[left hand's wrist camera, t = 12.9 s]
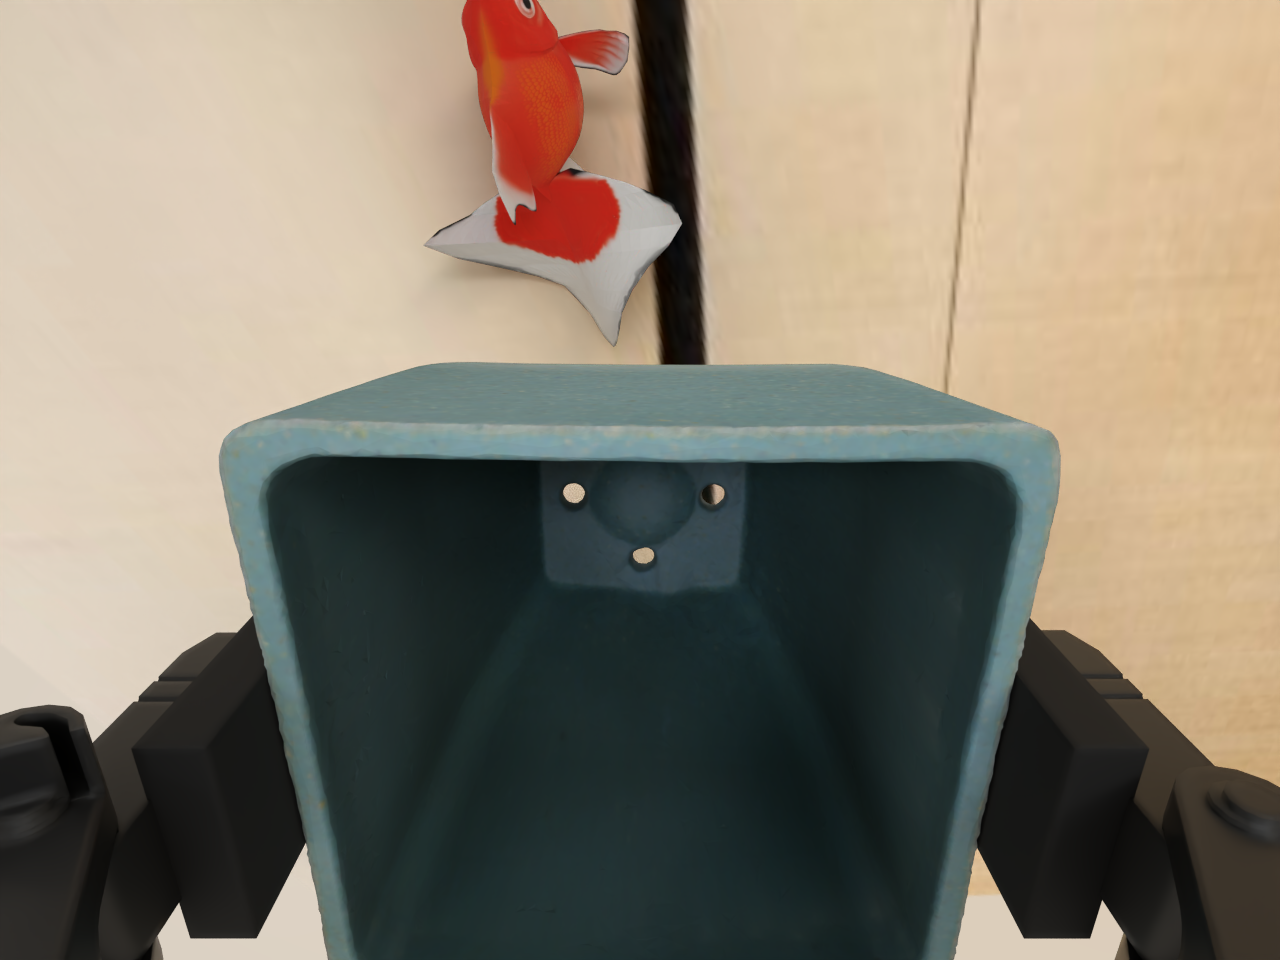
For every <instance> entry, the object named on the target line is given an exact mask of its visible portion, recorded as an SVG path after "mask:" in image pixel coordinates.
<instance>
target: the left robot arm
mask: <svg viewBox="0 0 1280 960" xmlns="http://www.w3.org/2000/svg"><path fill="white" fill-rule="evenodd" d="M305 843H306V839H305V836H304V833H303V828H302V820H301V816H300V813H299V809H298V804H297V799H296V793H295V788H294V785H293V781H292V778H291V775H290V773H289V767H288V762H287V759H286V756H285V752H284V741H283V738H282V735H281V733H280V731H279V721H278V717H277V712H276V707H275V702H274V700H273V697H272V695H271V689H270V685H269V682H268V677H267V669H266V668H265V666H264V658H263V655H262V649H261V648H260V644H259V641H258V637H257V633H256V628H255V623H254V618H253V616H252V617H251V618H250V619H249V620H248V622H247V623H246V624H245V625H244V626H243V627H242V628H241V629H240V630H239V631H238V632H237V633H215V634H213V635H212V636H210V637H208V638H207V639H205V640H203V641H202V642H200V643H198V644H197V645H195V646H193V647H192V648H190V649H188V650H186V651H185V652H183V653H182V654H181V655H180V656H179V657H178V658H177V659H176V660H175V661H174V662H173V663H172V664H171V665H170V666H169V667H168V668H167V669H166V670H165V671H164V672H163V673H162V674H161V675H160V676H159V680H158V681H154V682H153V683H152V684H151V685H150V686H149V687H148V688H147V689H146V690H145V691H144V692H143V693H142V694H141V695H140V696H139V701H138V702H133V703H132V704H131V705H130V706H129V707H128V708H127V709H126V710H125V711H124V712H123V713H122V714H121V715H120V716H119V717H118V718H117V719H116V720H115V721H114V722H113V723H112V724H111V725H110V726H109V727H108V728H107V729H106V730H105V731H104V732H103V733H102V734H101V735H100V736H99V737H98V738H97V739H96V740H95V741H94V742H93V743H92V740H91V737H90V734H89V731H88V728H87V725H86V722H85V719H84V716H83V715H82V714H81V713H79V712H78V711H76V710H75V709H73V708H72V707H67V706H57V705H44V706H37V707H30V708H23V709H18V710H15V711H12V712H9V713H5V714H2V715H0V960H163V955H162V949H161V945H160V943H159V940H158V937H157V935H158V934H159V932H160V931H161V929H162V928H163V926H164V925H165V923H166V922H167V920H168V918H169V917H170V916H171V914H172V912H173V911H174V909H175V908H176V906H177V905H178V903H180V906H181V910H182V913H183V916H184V919H185V922H186V926H187V929H188V932H189V935H190V938H257V936H258V934H259V932H260V931H261V929H262V927H263V925H264V923H265V921H266V919H267V917H268V915H269V913H270V911H271V909H272V907H273V905H274V903H275V901H276V899H277V897H278V896H279V894H280V892H281V890H282V888H283V886H284V884H285V882H286V880H287V878H288V876H289V874H290V872H291V870H292V868H293V866H294V865H295V863H296V861H297V859H298V857H299V855H300V853H301V851H302V849H303V847H304V845H305ZM977 848H978V850H979V852H980V854H981V856H982V858H983V860H984V862H985V864H986V866H987V868H988V869H989V871H990V873H991V875H992V877H993V879H994V881H995V883H996V885H997V887H998V889H999V891H1000V893H1001V895H1002V897H1003V899H1004V901H1005V902H1006V904H1007V906H1008V908H1009V910H1010V912H1011V914H1012V916H1013V918H1014V920H1015V922H1016V924H1017V926H1018V928H1019V930H1020V932H1021V933H1022V935H1023V937H1024V938H1090V937H1091V934H1092V931H1093V927H1094V924H1095V921H1096V918H1097V915H1098V911H1099V908H1100V905H1101V902H1102V900H1103V902H1104V903H1105V905H1106V906H1107V908H1108V909H1109V911H1110V912H1111V914H1112V915H1113V917H1114V918H1115V920H1116V921H1117V923H1118V925H1119V926H1120V928H1121V929H1122V931H1123V932H1124V934H1123V937H1122V940H1121V942H1120V945H1119V948H1118V951H1117V954H1116V957H1115V960H1280V787H1278V786H1276V785H1274V784H1273V783H1271V782H1269V781H1267V780H1264V779H1261V778H1259V777H1256V776H1253V775H1250V774H1247V773H1244V772H1242V771H1239V770H1235V769H1229V768H1223V767H1216V766H1214V765H1213V764H1212V763H1211V762H1210V761H1209V760H1208V759H1207V758H1206V757H1205V756H1204V755H1203V754H1202V753H1201V752H1200V751H1199V750H1198V749H1197V748H1196V747H1195V746H1194V745H1193V744H1192V743H1191V742H1190V741H1189V740H1188V739H1187V738H1186V737H1185V736H1184V735H1183V734H1182V733H1181V732H1180V731H1179V730H1178V729H1177V728H1176V727H1175V726H1174V725H1173V724H1172V723H1171V722H1170V721H1169V720H1168V719H1167V718H1166V717H1165V716H1164V715H1163V714H1162V713H1161V712H1160V711H1159V710H1158V709H1157V708H1156V707H1155V706H1154V705H1153V704H1152V703H1151V702H1150V701H1149V700H1148V699H1143V697H1142V693H1141V692H1140V691H1139V690H1138V689H1137V688H1136V687H1135V686H1134V685H1133V684H1132V683H1131V682H1130V681H1129V680H1128V679H1123V674H1122V673H1121V672H1120V671H1119V670H1118V669H1117V668H1116V667H1115V666H1114V665H1113V664H1112V663H1111V662H1110V661H1109V660H1108V659H1107V658H1106V657H1105V656H1104V655H1103V654H1102V653H1101V652H1100V651H1099V650H1097V649H1095V648H1094V647H1092V646H1090V645H1089V644H1087V643H1085V642H1084V641H1082V640H1080V639H1078V638H1077V637H1075V636H1073V635H1072V634H1070V633H1068V632H1067V631H1065V630H1040V629H1039V628H1038V626H1037V625H1036V624H1035V623H1034V622H1033V621H1032V620H1031V619H1030V618H1029V621H1028V623H1027V626H1026V637H1025V640H1024V648H1023V650H1022V656H1021V658H1020V659H1019V660H1018V670H1017V672H1016V674H1015V678H1014V682H1013V686H1012V690H1011V693H1010V699H1009V707H1008V711H1007V715H1006V718H1005V720H1004V722H1003V728H1002V730H1001V735H1000V740H999V744H998V748H997V751H996V754H995V762H994V767H993V775H992V779H991V782H990V785H989V790H988V797H987V802H986V805H985V810H984V813H983V816H982V820H981V827H980V834H979V836H978V838H977Z"/></svg>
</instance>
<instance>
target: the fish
mask: <svg viewBox="0 0 1280 960" xmlns="http://www.w3.org/2000/svg"><path fill="white" fill-rule="evenodd" d="M462 26H463V29H464V31H465V34H466V38H467V44H468V50H469V55H470V58H471V61H472V64H473V66H474V67H475V68H476V70H477V78H478V96H479V102H480V107H481V111H482V115H483V118H484V121H485V124H486V127H487V129H488V132H489V134H490V137H491V139H492V173H493V176H494V179H495V182H496V185H497V188H498V191H499V193H498V194H497V195H496V196H494V197H493V198H491V199H490V200H488V201H487V202H485V203H484V204H483V205H481V206H480V207H479V208H478V209H477V210H475V211H474V212H473V213H472V214H471V215H469V216H467V217H465V218H463V219H461V220H459V221H457V222H455V223H453V224H451V225H449V226H447V227H445V228H443V229H441V230H439V231H438V232H437V233H436V234H435V235H434V236H433V237H432V238H430V239H429V240H428V241H427V242H426V243H425V244H424V245H423V246H426V247H428V248H431V249H434V250H436V251H439V252H442V253H445V254H447V255H450V256H453V257H455V258H458V259H462V260H467V261H472V262H477V263H481V264H486V265H491V266H495V267H500V268H505V269H509V270H513V271H518V272H522V273H526V274H530V275H535V276H538V277H541V278H544V279H547V280H550V281H552V282H555V283H558V284H561V285H564V286H565V287H566V288H567V289H568V290H569V291H570V292H571V293H572V294H573V295H574V296H575V297H576V298H577V299H578V301H579V302H580V303H581V304H582V305H583V306H584V307H585V308H586V309H587V310H588V312H589V313H590V314H591V316H592V317H593V319H594V321H595V322H596V324H597V326H598V327H599V329H600V331H601V332H602V334H603V335H604V337H605V338H606V339H607V340H608V341H609V343H610V344H611V345H612V346H613V347H614V346H615V345H616V343H617V339H618V334H619V329H620V323H621V316H622V312H623V310H624V307H625V305H626V303H627V301H628V299H629V296H630V294H631V292H632V290H633V289H634V287H635V286H636V284H637V283H638V281H639V280H640V278H641V277H642V275H643V274H644V272H645V271H646V269H647V268H648V267H649V265H650V264H651V263H652V262H653V261H654V260H655V259H656V258H657V257H658V256H659V255H660V254H661V253H662V252H663V251H664V250H665V249H666V248H667V247H668V246H669V244H670V242H671V241H672V239H673V237H674V236H675V234H676V233H677V231H678V229H679V228H680V226H681V224H682V222H681V220H680V218H679V216H678V213H677V211H676V209H675V207H674V204H672V203H670V202H668V201H666V200H664V199H662V198H660V197H658V196H656V195H654V194H652V193H650V192H648V191H646V190H644V189H641V188H638V187H636V186H633V185H631V184H628V183H626V182H623V181H619V180H616V179H612V178H609V177H605V176H601V175H597V174H593V173H589V172H585V171H584V170H583V169H582V168H581V167H580V166H579V165H578V164H577V163H576V162H574V161H573V160H572V159H571V158H570V157H569V156H570V154H571V153H572V151H573V149H574V147H575V145H576V143H577V141H578V138H579V136H580V132H581V128H582V122H583V112H584V106H583V96H582V89H581V85H580V81H579V77H578V74H577V71H576V69H575V67H580V68H588V69H596V70H600V71H603V72H605V73H608V74H611V75H617V74H618V73H620V71H621V70H622V68H623V67H624V65H625V64H626V62H627V59H628V52H629V37H628V36H627V35H626V34H624V33H621V32H618V31H605V30H589V31H583V32H578V33H573V34H569V35H565V36H561V37H558V34H557V30H556V29H555V27H554V26H553V24H552V23H551V22H550V20H549V19H548V17H547V16H546V14H545V12H544V11H543V9H542V8H541V6H540V4H539V3H538V1H537V0H467V2H466V4H465V6H464V9H463V12H462Z"/></svg>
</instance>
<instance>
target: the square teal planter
mask: <svg viewBox="0 0 1280 960" xmlns="http://www.w3.org/2000/svg"><path fill="white" fill-rule="evenodd" d="M1060 457H1061V456H1060V450H1059V445H1058V441H1057V439H1056V438H1055V436H1054V435H1053V434H1052V433H1051V432H1050V431H1048V430H1046V429H1043V428H1040V427H1038V426H1036V425H1033V424H1031V423H1027V422H1024V421H1021V420H1018V419H1016V418H1013V417H1010V416H1007V415H1004V414H1001V413H999V412H996V411H993V410H990V409H987V408H984V407H981V406H979V405H976V404H973V403H970V402H967V401H965V400H962V399H959V398H956V397H953V396H951V395H948V394H945V393H942V392H939V391H936V390H933V389H931V388H928V387H925V386H922V385H920V384H917V383H914V382H911V381H908V380H905V379H902V378H898V377H895V376H892V375H888V374H885V373H882V372H879V371H876V370H872V369H868V368H864V367H856V366H848V365H837V364H778V365H599V364H520V363H485V362H455V363H439V364H430V365H425V366H419V367H415V368H412V369H408V370H405V371H401V372H398V373H394V374H391V375H388V376H385V377H381V378H378V379H375V380H372V381H369V382H366V383H364V384H361V385H358V386H355V387H352V388H349V389H345V390H342V391H339V392H336V393H333V394H330V395H327V396H324V397H322V398H319V399H316V400H313V401H310V402H307V403H304V404H302V405H299V406H296V407H293V408H290V409H287V410H284V411H281V412H278V413H275V414H272V415H269V416H266V417H263V418H260V419H257V420H254V421H251V422H249V423H246V424H244V425H242V426H240V427H238V428H236V429H234V430H232V431H231V432H230V433H229V434H228V435H227V436H226V437H225V438H224V440H223V443H222V446H221V450H220V454H219V469H220V476H221V480H222V485H223V489H224V496H225V501H226V506H227V510H228V514H229V522H230V526H231V530H232V534H233V537H234V541H235V544H236V547H237V550H238V553H239V558H240V566H241V569H242V573H243V576H244V579H245V585H246V592H247V596H248V598H249V600H250V608H251V611H252V614H253V618H254V623H255V628H256V633H257V637H258V641H259V644H260V648H261V649H262V655H263V658H264V666H265V668H266V669H267V677H268V682H269V685H270V689H271V695H272V697H273V700H274V702H275V707H276V712H277V717H278V721H279V731H280V733H281V735H282V738H283V741H284V752H285V756H286V759H287V762H288V767H289V773H290V775H291V778H292V781H293V785H294V788H295V793H296V799H297V804H298V809H299V813H300V816H301V820H302V828H303V833H304V836H305V839H306V845H307V848H308V852H307V856H308V858H309V863H310V866H311V873H312V878H313V882H314V885H315V889H316V894H317V899H318V905H319V911H320V914H321V920H322V925H323V927H322V930H323V936H324V942H325V947H326V951H327V956H328V960H953V959H954V956H955V954H956V946H957V943H958V936H959V932H960V928H961V920H962V917H963V915H964V908H965V903H966V898H967V895H968V886H969V883H970V877H971V874H972V871H971V868H972V865H973V860H974V855H975V851H976V849H977V838H978V836H979V834H980V827H981V820H982V816H983V813H984V810H985V805H986V802H987V797H988V790H989V785H990V782H991V779H992V775H993V767H994V762H995V754H996V751H997V748H998V744H999V740H1000V735H1001V730H1002V728H1003V722H1004V720H1005V718H1006V715H1007V711H1008V707H1009V699H1010V693H1011V690H1012V686H1013V682H1014V678H1015V674H1016V672H1017V670H1018V660H1019V659H1020V658H1021V656H1022V650H1023V648H1024V640H1025V637H1026V626H1027V623H1028V621H1029V618H1030V615H1031V611H1032V606H1033V601H1034V597H1035V592H1036V588H1037V583H1038V578H1039V575H1040V573H1041V570H1042V566H1043V562H1044V558H1045V551H1046V548H1047V545H1048V540H1049V534H1050V528H1051V525H1052V522H1053V518H1054V513H1055V509H1056V505H1057V502H1058V494H1059V485H1060ZM572 483H577V484H579V485H581V486H582V487H583V488H584V491H585V495H584V498H583V499H582V500H581V501H580V502H579V503H572V502H569V501H567V500H566V498H565V497H564V495H563V490H564V488H565V486H566V485H568V484H572ZM712 484H716V485H719V486H721V487H722V488H723V489H724V491H725V495H724V498H723V499H722V500H721V501H720V502H719V503H718V504H716V505H711V504H709V503H706V502H705V501H704V500H703V499H702V495H701V494H702V491H703V489H704V488H705V487H706V486H708V485H712ZM644 547H647V548H650V549H652V550H653V552H654V559H653V560H652V561H650V562H648V563H647V564H644V563H638V562H637V561H635V559H634V558H633V552H634V551H636V550H637V549H640V548H644Z"/></svg>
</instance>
